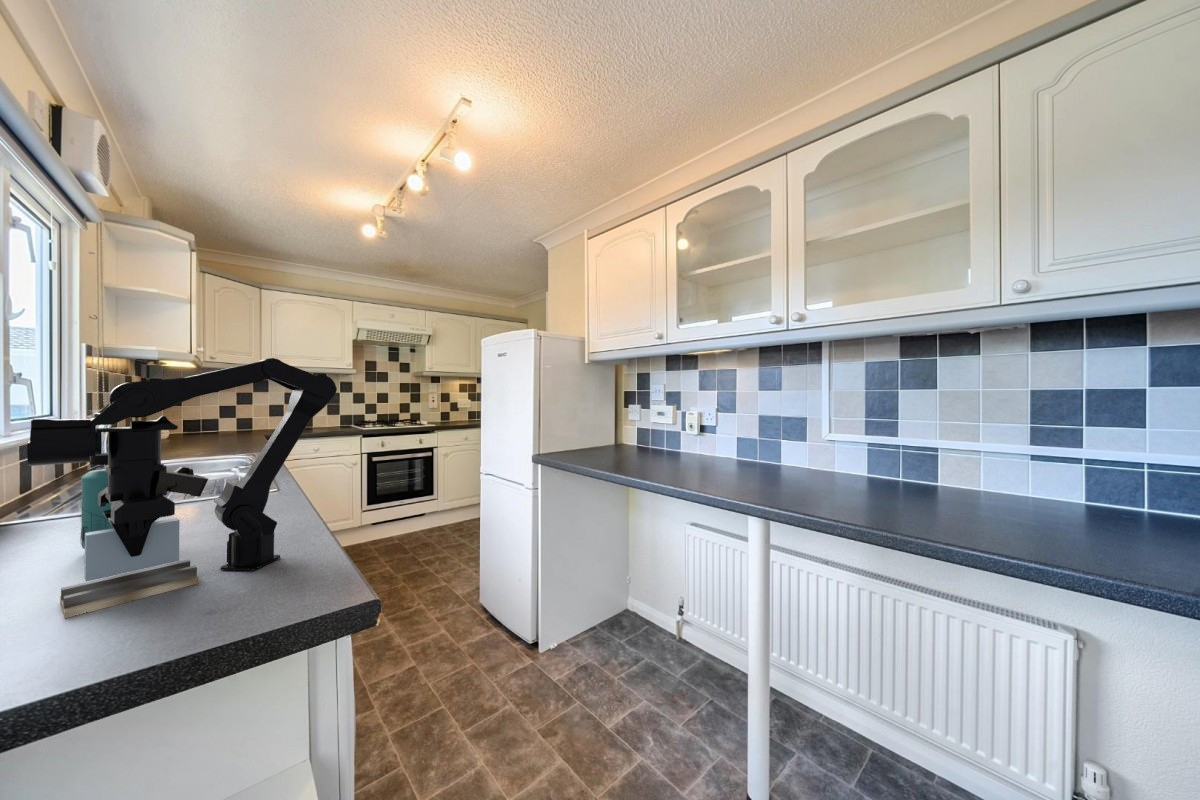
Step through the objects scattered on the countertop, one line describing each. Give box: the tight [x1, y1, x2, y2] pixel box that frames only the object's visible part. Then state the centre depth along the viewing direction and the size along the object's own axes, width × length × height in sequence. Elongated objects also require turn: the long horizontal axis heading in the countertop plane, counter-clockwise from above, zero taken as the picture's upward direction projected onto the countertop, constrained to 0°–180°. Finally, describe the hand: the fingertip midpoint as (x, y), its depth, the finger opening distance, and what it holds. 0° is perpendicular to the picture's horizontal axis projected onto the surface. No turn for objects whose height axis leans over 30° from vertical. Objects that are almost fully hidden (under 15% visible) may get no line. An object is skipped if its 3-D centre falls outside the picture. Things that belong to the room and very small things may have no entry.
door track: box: [59, 558, 200, 619], centre depth 67 cm, size 14×8×2 cm, turn 146°
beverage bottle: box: [79, 452, 112, 550], centre depth 83 cm, size 6×7×20 cm
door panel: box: [84, 517, 180, 582], centre depth 67 cm, size 10×2×7 cm, turn 146°
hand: (134, 554), depth 67 cm, fingers closed on door panel, 2 cm apart
